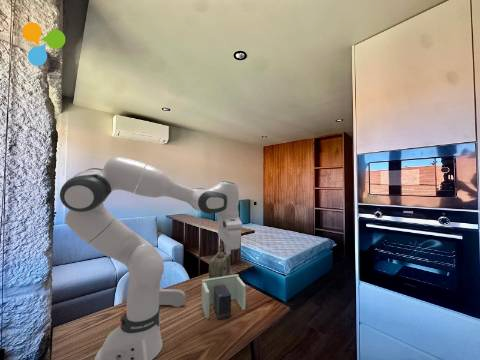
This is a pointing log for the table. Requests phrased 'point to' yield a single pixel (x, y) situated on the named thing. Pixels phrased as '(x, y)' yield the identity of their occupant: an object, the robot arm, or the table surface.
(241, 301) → the rack
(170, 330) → the table surface
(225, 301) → the small box
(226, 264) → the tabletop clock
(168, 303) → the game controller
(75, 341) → the table surface
